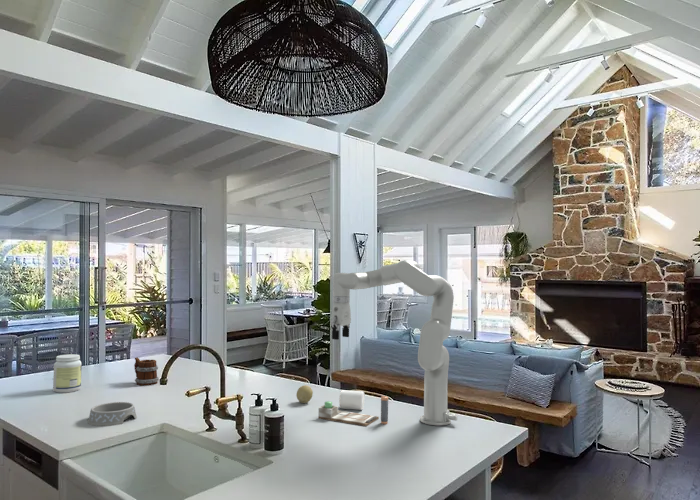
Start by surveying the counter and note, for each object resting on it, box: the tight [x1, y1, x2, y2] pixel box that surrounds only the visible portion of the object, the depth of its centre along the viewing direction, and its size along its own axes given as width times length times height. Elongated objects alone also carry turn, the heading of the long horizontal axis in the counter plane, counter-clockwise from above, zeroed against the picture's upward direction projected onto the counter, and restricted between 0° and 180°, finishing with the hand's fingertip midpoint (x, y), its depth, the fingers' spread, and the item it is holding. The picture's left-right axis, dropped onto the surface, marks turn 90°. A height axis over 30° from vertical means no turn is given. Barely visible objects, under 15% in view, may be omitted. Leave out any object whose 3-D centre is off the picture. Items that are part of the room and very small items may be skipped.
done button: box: [324, 400, 333, 409], centre depth 220 cm, size 3×3×3 cm
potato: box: [295, 384, 314, 404], centre depth 243 cm, size 8×8×8 cm
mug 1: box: [133, 357, 160, 387], centre depth 278 cm, size 12×14×15 cm
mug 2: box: [338, 389, 366, 411], centre depth 236 cm, size 12×10×8 cm
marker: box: [380, 395, 389, 425], centre depth 213 cm, size 3×3×10 cm
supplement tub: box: [52, 353, 83, 394], centre depth 260 cm, size 12×12×17 cm
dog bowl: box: [87, 401, 138, 427], centre depth 213 cm, size 17×18×5 cm
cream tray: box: [317, 404, 380, 427], centre depth 219 cm, size 22×12×4 cm, turn 63°
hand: (340, 338), depth 237 cm, fingers open, 9 cm apart
